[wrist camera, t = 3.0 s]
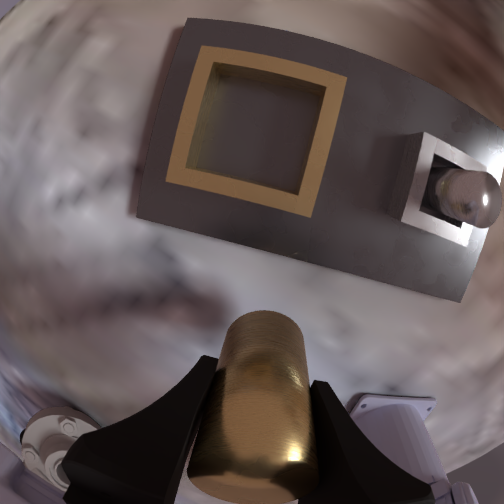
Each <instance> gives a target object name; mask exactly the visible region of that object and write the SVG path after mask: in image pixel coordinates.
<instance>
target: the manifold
mask: <svg viewBox="0 0 504 504" xmlns="http://www.w3.org/2000/svg"><path fill="white" fill-rule="evenodd" d="M503 165H504V131H503V130H502V129H501V128H499V127H498V126H497V125H495V124H494V123H493V122H491V121H490V120H488V119H487V118H486V117H484V116H483V115H481V114H480V113H478V112H477V111H475V110H474V109H472V108H471V107H469V106H468V105H466V104H464V103H463V102H461V101H460V100H458V99H456V98H455V97H453V96H451V95H450V94H448V93H446V92H444V91H443V90H441V89H439V88H437V87H435V86H434V85H432V84H430V83H428V82H426V81H424V80H422V79H420V78H418V77H416V76H414V75H412V74H410V73H408V72H406V71H404V70H401V69H399V68H397V67H395V66H392V65H390V64H388V63H385V62H383V61H381V60H378V59H376V58H373V57H371V56H368V55H365V54H363V53H360V52H357V51H355V50H352V49H349V48H346V47H343V46H340V45H337V44H334V43H330V42H327V41H324V40H320V39H317V38H313V37H309V36H306V35H302V34H298V33H293V32H289V31H285V30H280V29H275V28H270V27H265V26H259V25H253V24H246V23H239V22H232V21H223V20H213V19H200V18H187V21H186V24H185V26H184V29H183V32H182V34H181V37H180V40H179V43H178V45H177V48H176V51H175V54H174V57H173V60H172V63H171V66H170V70H169V73H168V76H167V79H166V83H165V86H164V89H163V93H162V97H161V100H160V104H159V108H158V111H157V115H156V119H155V123H154V127H153V131H152V136H151V140H150V144H149V149H148V154H147V158H146V163H145V168H144V173H143V179H142V184H141V190H140V196H139V202H138V208H137V215H136V217H137V218H141V219H145V220H148V221H152V222H156V223H160V224H164V225H168V226H172V227H176V228H179V229H183V230H187V231H191V232H195V233H199V234H203V235H206V236H210V237H214V238H218V239H222V240H226V241H229V242H233V243H237V244H241V245H245V246H248V247H252V248H256V249H260V250H264V251H267V252H271V253H275V254H279V255H283V256H286V257H290V258H294V259H298V260H302V261H305V262H309V263H313V264H317V265H321V266H324V267H328V268H332V269H336V270H339V271H343V272H347V273H351V274H354V275H358V276H362V277H366V278H369V279H373V280H377V281H381V282H384V283H388V284H392V285H395V286H399V287H403V288H407V289H410V290H414V291H418V292H421V293H425V294H429V295H433V296H436V297H440V298H444V299H447V300H451V301H455V302H458V303H460V302H461V300H462V297H463V295H464V293H465V291H466V288H467V286H468V283H469V281H470V279H471V276H472V274H473V271H474V269H475V266H476V263H477V261H478V258H479V255H480V252H481V249H482V246H483V243H484V240H485V237H486V234H487V231H488V228H489V227H490V226H491V225H492V224H493V223H494V222H495V221H496V219H497V218H498V216H499V213H500V210H501V205H502V194H501V189H500V186H499V185H500V181H501V176H502V170H503Z"/></svg>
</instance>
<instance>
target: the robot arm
mask: <svg viewBox="0 0 504 504" xmlns="http://www.w3.org/2000/svg"><path fill="white" fill-rule="evenodd" d="M218 361H219V359H217V358H213V357H210V356H206V355H203V356H201V358H200V359H199V361H198V362H197V363H196V365H195V366H194V367H193V368H192V369H191V371H190V372H189V373H188V374H187V375H186V376H185V377H184V378H183V379H182V380H181V381H180V382H179V383H178V384H177V385H176V386H174V387H173V388H172V389H171V390H170V391H168V392H167V393H166V394H165V395H164V396H162V397H161V398H160V399H158V400H157V401H155V402H154V403H152V404H151V405H149V406H148V407H146V408H145V409H143V410H141V411H139V412H138V413H136V414H134V415H132V416H130V417H128V418H126V419H124V420H122V421H119V422H117V423H115V424H112V425H110V426H107V427H104V428H101V429H98V430H95V431H91V432H88V433H84V434H82V435H81V436H80V437H79V438H78V439H77V440H76V441H75V442H74V444H73V445H72V446H71V447H70V448H69V450H68V451H67V453H66V455H65V456H64V458H63V460H62V462H61V465H62V468H63V470H64V472H65V474H66V476H67V477H68V479H69V481H70V485H69V487H68V489H67V491H66V492H64V491H62V490H60V489H59V488H57V487H55V486H54V485H52V484H50V483H49V482H47V481H46V480H44V479H42V478H41V477H39V476H38V475H36V474H35V473H33V472H32V471H30V470H29V469H28V468H26V467H25V465H24V463H23V462H22V460H21V459H20V458H19V457H18V456H17V455H16V454H15V453H13V452H12V451H11V450H10V449H8V448H7V447H6V446H5V445H3V444H2V443H1V442H0V504H174V501H175V498H176V494H177V490H178V487H179V483H180V480H181V476H182V473H183V469H184V466H185V462H186V459H187V456H188V453H189V451H190V448H191V446H192V443H193V441H194V438H195V436H196V434H197V431H198V429H199V426H200V423H201V419H202V416H203V413H204V409H205V406H206V402H207V399H208V395H209V392H210V389H211V387H212V383H213V380H214V376H215V373H216V369H217V365H218ZM310 392H311V401H312V409H313V418H314V428H315V438H316V448H317V458H318V470H319V483H318V485H317V487H316V488H315V489H314V490H313V491H312V492H310V493H309V494H307V495H306V496H304V497H302V498H299V499H298V504H479V503H478V501H477V499H476V497H475V494H474V492H473V490H472V488H471V487H470V485H469V484H468V483H462V482H460V481H459V482H457V483H455V484H454V485H451V484H450V483H449V481H448V479H447V476H446V474H445V471H444V469H443V466H442V464H441V461H440V459H439V456H438V454H437V452H436V449H435V447H434V445H433V442H432V440H431V438H430V435H429V433H428V431H427V429H426V427H425V424H424V422H423V421H424V420H425V419H426V417H427V416H428V415H429V414H430V412H431V411H432V410H433V408H434V407H435V406H436V404H437V401H436V399H435V398H410V397H394V396H381V395H370V394H366V395H363V396H362V397H361V398H360V399H359V401H358V402H357V404H356V405H355V407H354V408H353V410H352V411H351V413H350V414H348V413H347V411H346V410H345V408H344V407H343V405H342V404H341V402H340V401H339V399H338V397H337V396H336V394H335V393H334V391H333V390H332V388H331V387H330V385H329V384H328V382H323V381H317V380H314V381H313V383H312V385H311V387H310ZM363 404H364V405H363Z"/></svg>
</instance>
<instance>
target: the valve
mask: <svg viewBox="0 0 504 504" xmlns="http://www.w3.org/2000/svg"><path fill="white" fill-rule="evenodd" d="M98 429H101V427H100V426H99V425H98V424H97V423H96V422H95V421H94V420H93V419H91V418H90V417H89V416H87V415H85V414H84V413H82V412H80V411H77V410H74V409H72V408H71V407H68V406H65V407H51V408H46V409H43V410H41V411H39V412H38V413H36V414H35V415H34V416H33V417H32V418H31V419H30V420H29V422H28V424H27V426H26V429H24V430H23V431H22V432H21V434H20V442H21V445H22V457H23V458H24V461H23V463H24V465H25V467H26V468H28V469H29V470H30V471H32V472H33V473H35V474H36V475H38V476H39V477H41V478H42V479H44V480H46V481H47V482H49V483H50V484H52V485H54V486H55V487H57V488H59V489H60V490H62V491H64V492H66V491H67V489H68V487H69V485H70V481H69V479H68V477H67V476H66V474H65V472H64V470H63V468H62V465H61V462H62V460H63V458H64V456H65V455H66V453H67V451H68V450H69V448H70V447H71V446H72V445H73V444H74V442H75V441H76V440H77V439H78V438H79V437H80V436H81V435H82V434H84V433H88V432H91V431H95V430H98Z"/></svg>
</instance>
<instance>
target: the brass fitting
mask: <svg viewBox="0 0 504 504" xmlns="http://www.w3.org/2000/svg"><path fill="white" fill-rule="evenodd" d="M187 475H188V477H189V479H190V481H191V482H192V483H193V484H194V485H195V486H196V487H197V488H199V489H200V490H201V491H203V492H205V493H207V494H209V495H211V496H213V497H216V498H218V499H221V500H224V501H228V502H233V503H238V504H282V503H286V502H290V501H294V500H297V499H299V498H302V497H304V496H306V495H307V494H309V493H310V492H312V491H313V490H314V489H315V488H316V487H317V485H318V483H319V470H318V458H317V448H316V438H315V428H314V418H313V409H312V401H311V392H310V384H309V376H308V368H307V360H306V353H305V345H304V338H303V334H302V332H301V330H300V328H299V327H298V325H297V324H296V323H295V322H294V321H293V320H292V319H290V318H289V317H287V316H285V315H283V314H281V313H278V312H274V311H266V310H263V311H254V312H250V313H247V314H245V315H243V316H241V317H239V318H238V319H236V320H235V321H234V322H233V323H232V324H231V326H230V327H229V329H228V331H227V333H226V336H225V340H224V343H223V347H222V350H221V354H220V357H219V361H218V365H217V369H216V373H215V376H214V380H213V383H212V387H211V389H210V392H209V395H208V399H207V402H206V406H205V409H204V413H203V416H202V419H201V423H200V426H199V430H198V433H197V437H196V440H195V444H194V447H193V451H192V454H191V458H190V461H189V465H188V468H187Z"/></svg>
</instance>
